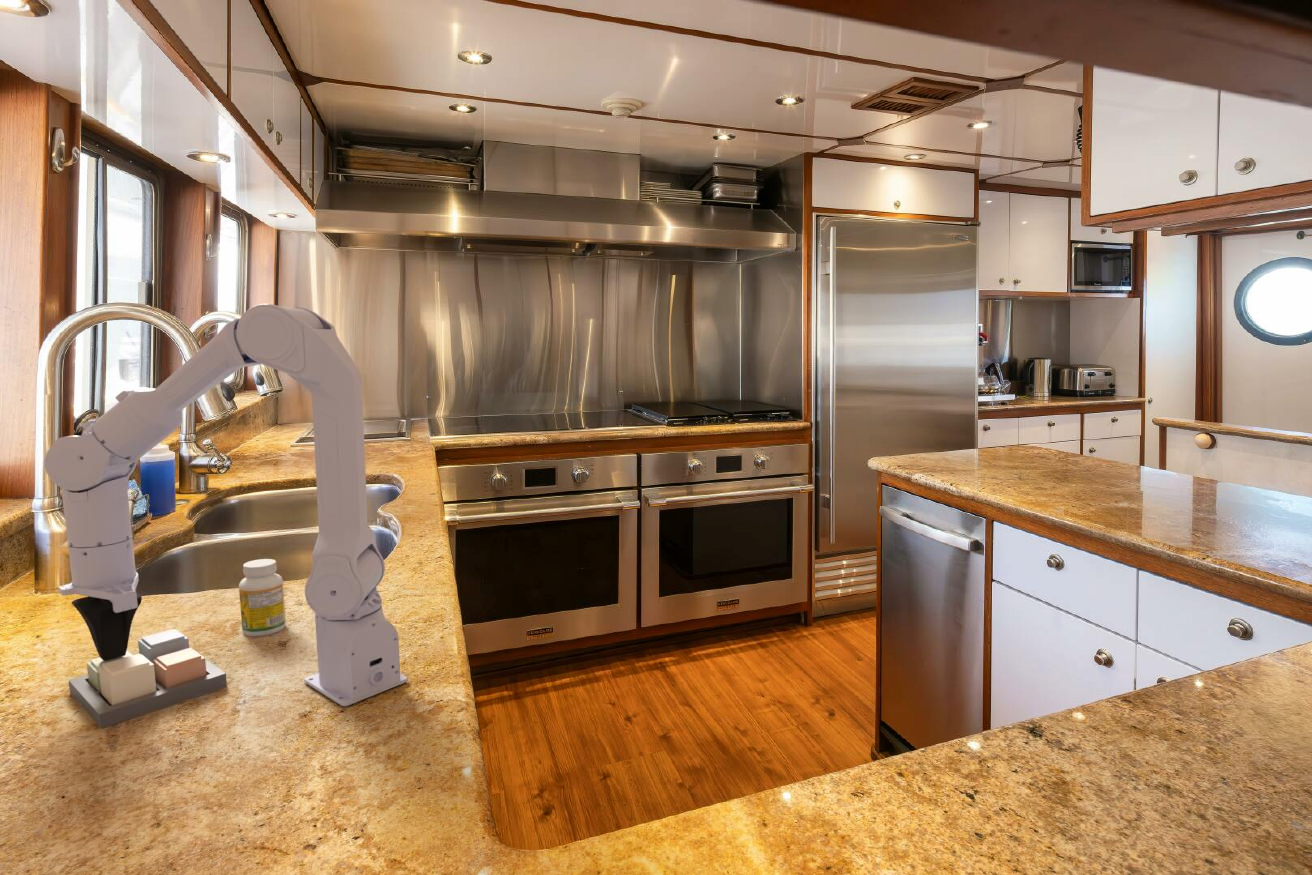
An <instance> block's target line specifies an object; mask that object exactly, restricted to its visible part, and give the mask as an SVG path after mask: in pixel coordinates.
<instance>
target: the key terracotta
mask: <svg viewBox="0 0 1312 875" xmlns="http://www.w3.org/2000/svg"><path fill="white" fill-rule="evenodd" d="M191 648H192V647H190V648H187V649H184V650H180V651H177V652H174V653H170V654H167V655H163V656H160V657H157V659H155V660H153V664H154V671H155V681H156V682H157V683H159V684H160V685H161V686H162V687H163V688H164V689H165V688H168V687H172V686H175V685H178V684H181V683H184V682H187V681H190V680H193V679H196V678H200V677H203V676H206V675H207V674H206V662H205V659H206V657H205V656H203V655H202V654H200V652H197V651H196V650H195V649H193V648H192V649H191Z"/></svg>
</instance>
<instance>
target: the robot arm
mask: <svg viewBox="0 0 1312 875" xmlns="http://www.w3.org/2000/svg"><path fill="white" fill-rule="evenodd" d="M336 331H337V330H336V328H335V325H333V324H332V323H330V322H329V321H328V320H326V319H324V317H322V316H320V315H319V314H318V313H316V312H314V311H313V310H312V309H309V308H305V307H301V306H300V307H299V306H298V307H287V306H280V305H276V304H272V303H261V304H257V305H254V306H252V307H250V308H248V309H247V310H246V311H245V312H243V314H242V315H241V316H240V318H235V319H233V320H231V321H229V322H227V323H226V324H225V325H224V326H223V327H222V328H221V329H220V331H219V332H218V333H217V334H215V336H214V337H212V338H211V339H210V340H209V341H208V342H207V343H206V344H204V346H202V347H201V348H200V349H199V350H198V351H197V352H196V353H194V354H193V355H192V356H191V357H190V358H189V359H188V360H186V362H184V363H183V364H182V365H181V366H180V367H179V368H177V370H175V371H174V372H173V373H172V374H171V375H169V376H168V377H167V378H166V379H165V380H164V381H163V382H162V383H160V384H159V385H158V386H157V387H156V388H152V387H137V388H135V389H127V390H123V391H122V390H121V392H120V393H118V394H117V395H116V396H115V400H116V401H118V402H117V403H116V404H115V405H114V406H112V407H111V408H109V409H108V410H107V411H105V413H104V414H102V415H101V416H100V417H99V418H97V419H89V420H88V421H85V423H83V424H82V428H83V431H82V433H81V435H67V436H62V437H60V438H57V439H56V440H55V441H54V443H53V444H52V445H51V446H50V447H49V448H48V450H47V452H46V455H45V458H44V468H45V471H46V474H47V476H48V478H49V479H50V480H51V482H52V483H54V484H55V485H57V486H58V487H59V488H61V496H62V505H63V506H62V507H63V513H64V514H63V515H64V524H65V531H66V532H65V533H66V542H67V546H68V549H67V550H68V558H69V566H70V575H71V582H70V583H67V584H63V585H60V586H58V593H59V594H60V595H61V596H70V595H80V596H83V597H80V598H76V599H74V600H72V601H71V604H72V606H73V607H74V608H75V609H76V611H78V613H79V614H80V615H81V617H82V619H83V621H84V622H85V624H86V626H87V628H88V631H89V633H90V635H91V638H92V641H93V645H94V647H95V649H96V652H97V654H98V656H99V657H100V658H101V659H102V660H103V661H108V660H111V659H115V658H118V657H122V656H125V655H126V651H128V646H129V638H130V634H131V633H130V632H131V628H132V624H133V620H134V617H135V614H136V613H137V611H138V608H139V607H140V605H141V604H142V600H143V598H142V595H141V594H139V593H138V592H137V586H138V583H139V581H140V580H139V579H140V578H139V573H138V572H137V571H136V561H135V551H134V541H133V540H134V539H133V532H132V521H131V511H130V501H129V490H130V485H129V484H130V483H129V478H130V476H131V475H132V474H133V473H134V471H135V469H136V468H137V464H138V461H139V460H140V459H141V458H142V457H144V456H145V455H146V454H147V453H148V452H150V451H151V450H153V449H154V448H155V447H156V446H158V445H159V444H160V443H161V442H163V441H164V440H165V439H166V438H168V437H169V436H170V435H171V434H173V433H174V432H176V431H177V430H178V429H179V428H180V427H181V426H182V424H183V410H184V409H185V408H187V407H188V406H190V405H191V404H192V403H193V402H195V401H196V400H197V399H199V398H201V397H202V396H203V395H205V394H206V393H208V392H209V391H210V390H212V389H213V388H214V387H216V386H217V385H219V384H220V383H221V382H223V381H224V380H226V379H227V378H228V377H231V375H232V374H234V373H235V372H238V370H240V369H242V368H245V367H252V366H254V367H255V366H259V365H262V366H263V365H264V366H265V367H268V368H271V369H274V370H276V371H279V372H282V373H283V374H287V376H289V377H291V379H293V380H295V381H296V382H297V383H298V384H299V385H300V386H302V387H303V388H304V389H306V390H307V391H308V392H310V395H311V404H312V406H311V407H312V422H313V425H312V426H313V427H312V428H313V441H314V442H313V443H314V459H315V460H314V463H315V464H314V465H315V480H316V500H317V517H318V518H317V522H318V535H317V538H316V541H315V545H314V547H313V552H312V555H311V563H312V564H311V566H312V567H311V572H310V574H309V577H308V578H307V579H306V583H305V586H304V597H305V600H306V603H307V605H308V606H309V607H310V609H311V610H312V611H313V612H314V621H315V622H314V623H315V638H316V652H317V653H316V654H317V667H318V668H317V670H318V671H317V672H318V673H315V674H312V675H308V676H307V677H306V676H305V678H303V679H304V683H306V684H307V685H309V686H310V687H311V688H313V689H314V690H316V691H317V692H319V693H320V694H323V695H324V696H326V697H327V698H329V699H330V700H331V701H333V702H335V703H336V704H338V705H340V706H341V707H348V706H351V705H352V704H355V703H358V702H360V701H362V700H365V699H368V698H370V697H372V696H376V695H378V694H381V693H383V692H384V691H385V692H386V691H388V690H390V689H392V688H395V687H397V686H399V685H403V684H405V683H407V682H408V677H407V675H404V674H402V673H401V664H400V663H401V662H400V661H401V660H400V659H401V658H400V642H399V638H400V637H399V633H398V630H397V629H396V627H395V626H394V625H393V624H392V623H391V621H388V619H387V617H386V616H385V614H384V610H383V605H382V604H383V602H382V600H383V599H382V597H381V595H380V593H379V591H378V589H377V588H378V586H379V584H381V581H382V580H383V579H384V576H385V571H386V564H385V560H384V557H383V556H382V554H381V553H380V551H379V549H378V546H377V541H376V533H375V532H374V530H373V529H372V528H371V527H370V525H369V524H368V522H369V521H368V520H369V519H368V500H367V499H368V498H367V497H368V495H367V477H366V475H367V474H366V452H365V451H366V448H365V431H364V430H365V429H364V427H365V426H364V425H365V424H364V409H363V407H364V406H363V404H364V403H363V383H362V381H363V380H362V379H363V378H362V375H361V371H360V369H359V368H358V366H357V365H356V363H355V361H354V359H353V358H352V356H351V355H350V354H349V352H348V351H347V349H346V347H345V346H344V345H343V343H342V342H341V340H340V339H339V337H338V334H337V332H336Z"/></svg>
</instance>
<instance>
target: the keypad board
mask: <svg viewBox="0 0 1312 875" xmlns="http://www.w3.org/2000/svg"><path fill="white" fill-rule="evenodd" d="M189 648H191V649H193V648H192V647H190V646H189ZM205 662H206V674H207V675H206V676H203V677H200V678H196V679H193V680H190V681H187V682H184V683H181V684H178V685H175V686H172V687H168V688H165V689H164V688H163V687H162V686H161V685H160V684H159V683H157V682H156V681H155V682H156V692H153V693H150V694H147V695H143V696H140V697H137V698H134V699H131V700H128V701H125V702H122V703H119V704H115V705H110V703H109V702H108V701H107V700H106V698H105V697H104V696H103V695H102V694H101V690H100V691H97V692H96V691H95V690H94V689H93V688H92V687H91V686H90V685H89V679H88V673H87V674H84V675H81V676H78V677H74V678H73V677H72V678H70V679H68V686H69V687H68V688H69V694H70V695H71V696H72V697H73V699H74V700H75V701H76V702H77V704H78V705H79V706H80V707H81V708H82V709H83V710H84V711H85V713H86V714H87V715H88V716H89V718H91V720H92V721H93V722H94V723H95V724H96V725H97V726H98V727H99V729H101V730H102V729H105V728H108V727H111V726H114V725H117V724H119V723H122V722H126V721H129V720H131V719H134V718H137V717H140V716H144V715H146V714H150V713H153V712H156V711H158V710H161V709H164V708H168V707H170V706H174V705H176V704H179V703H182V702H185V701H187V700H191V699H194V698H196V697H200V696H203V695H206V694H209V693H212V692H215V691H217V690H221V689H223V688H226V687H227V688H228V683H227V673H226V672H225V671H223V670H222V669H221V668H219V667H218V666H217V665H215V664H214V663H212V662H211V661H210V660H208V659H207V658H205Z"/></svg>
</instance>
